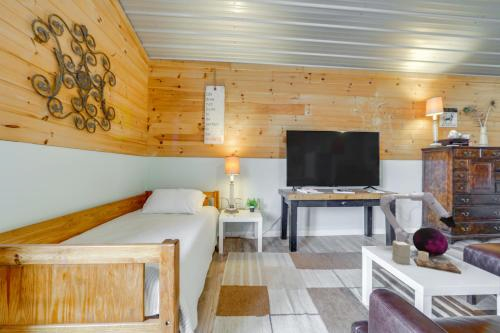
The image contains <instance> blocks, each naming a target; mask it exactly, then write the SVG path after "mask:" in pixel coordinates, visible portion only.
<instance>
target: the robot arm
mask: <svg viewBox="0 0 500 333" xmlns="http://www.w3.org/2000/svg"><path fill="white" fill-rule="evenodd" d="M397 199H398V200H401V199H403V200H404V199H405V200H407V199H409V200H410V201H419V202H423V201H425V202H426V203H427V204H428V206H429V207H430V208H431V210H432V211H433V212H434V213H435V215H436V216H437V218H439V219H438V221H439V222H442V223H443V224H444V225H445V226H447V227H448V228H450V229H451V228H452V229H455V228H457V227H458V226H457V224H456V222H455V220H454V216H453V215H450V213H451V212H450V211H446V209H445V208H444V207H443V206H442V204H441V203H440V201H438V200H437V198H435V197H434V194H433V193H431V192H428V191H427V192H424V191H422V192H416V191H413V192H410V193H409V194H406V193H404V194H403V193H391V194H385V195H382V196H381V197H380V199H379V202H380V207H379V208H380V211H382V212H383V215H384V216H385V217H386V220H387V221H388V222H389V224H390V225H391V227H392V229H393V230H394V234H395V235H396V239H394V240H393V241H397V242H405V243H407V244H409V243H410V242H409V238H410V234H409V233H408V232H407V231H405V229H404V228H403V227H402V226H401V225H400V224H399V221H398V220H397V218H396V217H395V215H394V214H393V212H392V211H391V209H390V205H391V203H392V202H393V201H394V200H397ZM409 245H410V244H409Z"/></svg>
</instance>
